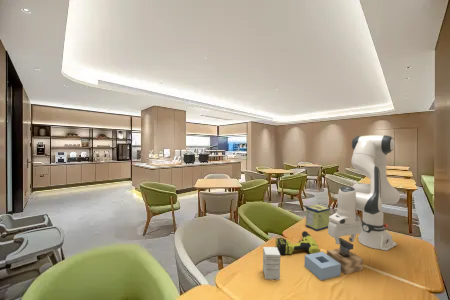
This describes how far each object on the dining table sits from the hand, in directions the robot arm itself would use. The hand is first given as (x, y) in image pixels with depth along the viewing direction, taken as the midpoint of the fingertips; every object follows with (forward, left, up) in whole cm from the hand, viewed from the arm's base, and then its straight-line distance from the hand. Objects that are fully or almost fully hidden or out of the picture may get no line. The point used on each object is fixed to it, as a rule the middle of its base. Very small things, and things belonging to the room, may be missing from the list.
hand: (344, 242), depth 112 cm
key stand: (0, 0, -13) cm, 13 cm away
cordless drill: (+12, -26, -13) cm, 31 cm away
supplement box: (+42, -5, -13) cm, 44 cm away
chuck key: (0, 0, -13) cm, 13 cm away
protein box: (-23, -45, -13) cm, 52 cm away
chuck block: (+15, 0, -13) cm, 19 cm away
